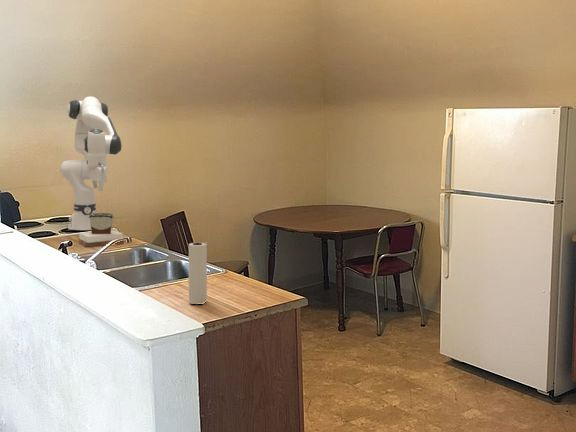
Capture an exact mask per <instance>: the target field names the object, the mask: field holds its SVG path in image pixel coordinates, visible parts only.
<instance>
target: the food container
mask: <svg viewBox="0 0 576 432" xmlns="http://www.w3.org/2000/svg"><path fill="white" fill-rule="evenodd" d="M89 218H90V225H91V230H90V232H91V234H111V230H112V227H113V219H114V220H115V218H114V214H113V213H110V212H98V213H91V214H90V215H89Z"/></svg>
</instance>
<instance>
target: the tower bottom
mask: <svg viewBox="0 0 576 432" xmlns="http://www.w3.org/2000/svg"><path fill="white" fill-rule="evenodd" d="M111 241H112V240H111ZM109 242H110V241H101V242H91V243H87V242H85V241H83V240H81V239H79V238H78V243H79V244H80V245H81V246H83V247H84V248H86V249H87V248H95V247H96V248H97V247H98V248H99V247H105V246H104V245H106V244H108V243H109ZM115 244H116V245H115V246H119V245H124V244H125V240H124V241H120V242H117V243H115Z"/></svg>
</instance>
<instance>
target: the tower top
mask: <svg viewBox="0 0 576 432" xmlns="http://www.w3.org/2000/svg"><path fill="white" fill-rule="evenodd" d="M123 236H124V234H123V232H120V231H117V230H114V229H111V234H91V231H88V232H85V231H84V232H79V238H78V240H79V239H81V240H83V241H85V242H87V243H91V242H101V241H111V240H115V239H118V238H121V237H123ZM123 238H124V237H123Z"/></svg>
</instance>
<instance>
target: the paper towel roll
mask: <svg viewBox="0 0 576 432" xmlns="http://www.w3.org/2000/svg"><path fill="white" fill-rule="evenodd" d="M207 243H208V242H191V243H188V303H191V304H198V303H203V302H205V301H206V300H207V301H208V299H207V298H208V297H207V296H208V294H207V293H208V284H207V281H208V280H207V279H208V274H207V270H208V268H207V266H208V265H207V263H208V261H207V260H208V257H207V256H208V251H207V250H208V248H207V247H208V244H207ZM191 304H190V305H191Z"/></svg>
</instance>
